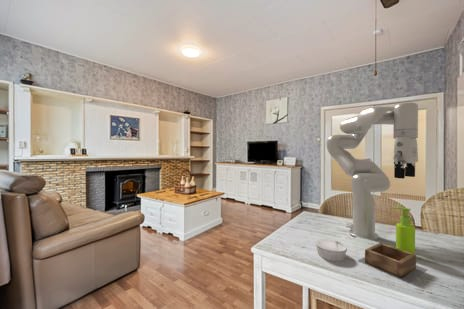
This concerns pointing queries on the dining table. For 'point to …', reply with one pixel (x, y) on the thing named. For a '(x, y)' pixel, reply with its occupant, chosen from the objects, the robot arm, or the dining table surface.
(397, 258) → the walnut box
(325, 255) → the ramekin
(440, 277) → the dining table surface
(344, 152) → the robot arm
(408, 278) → the pale grey square slab
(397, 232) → the soap dispenser
